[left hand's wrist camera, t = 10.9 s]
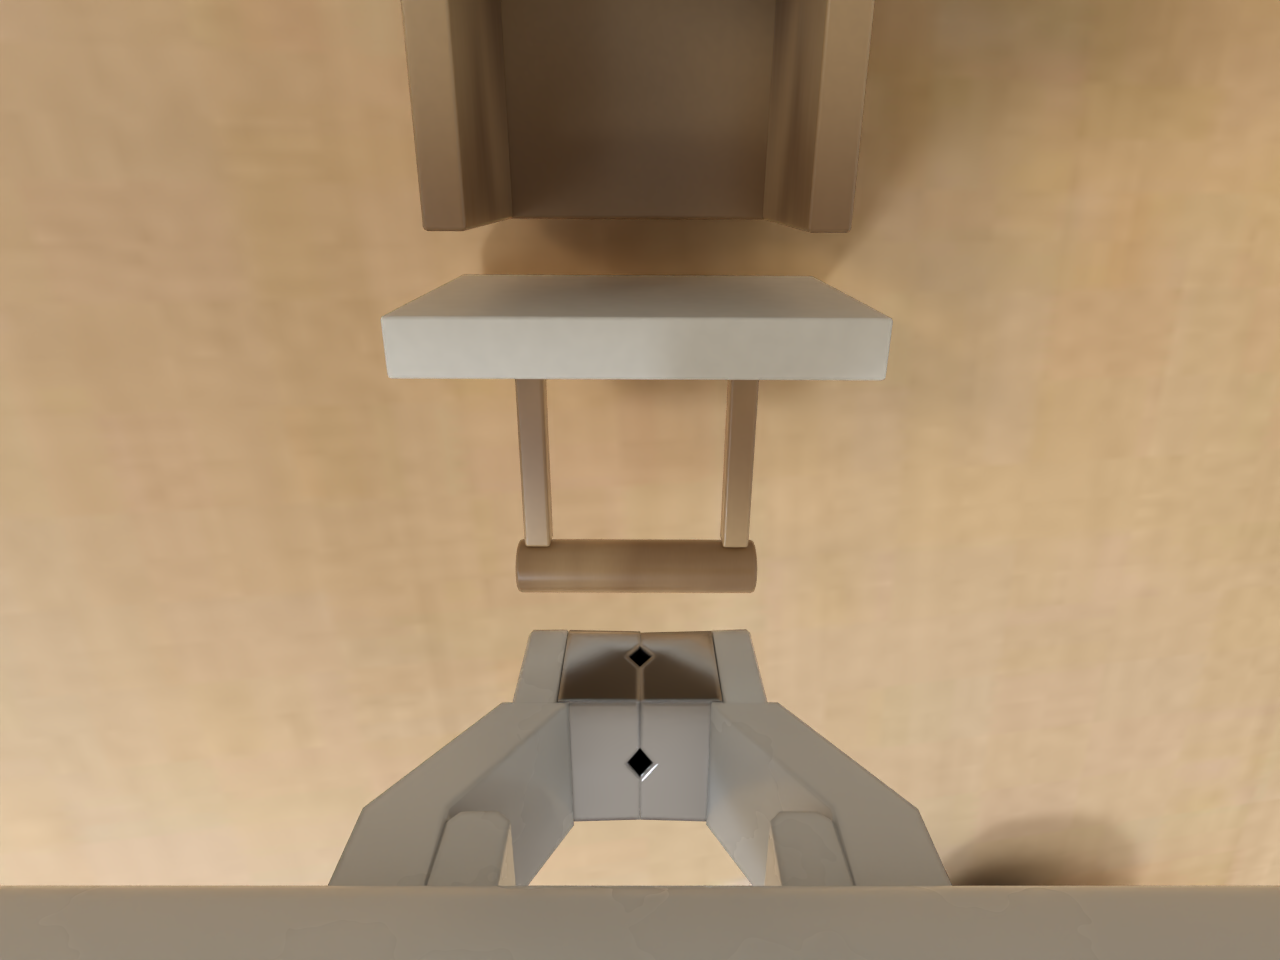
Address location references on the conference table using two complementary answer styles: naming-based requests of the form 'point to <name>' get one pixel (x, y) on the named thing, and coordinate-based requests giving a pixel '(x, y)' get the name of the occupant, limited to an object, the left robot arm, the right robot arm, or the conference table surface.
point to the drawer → (637, 189)
